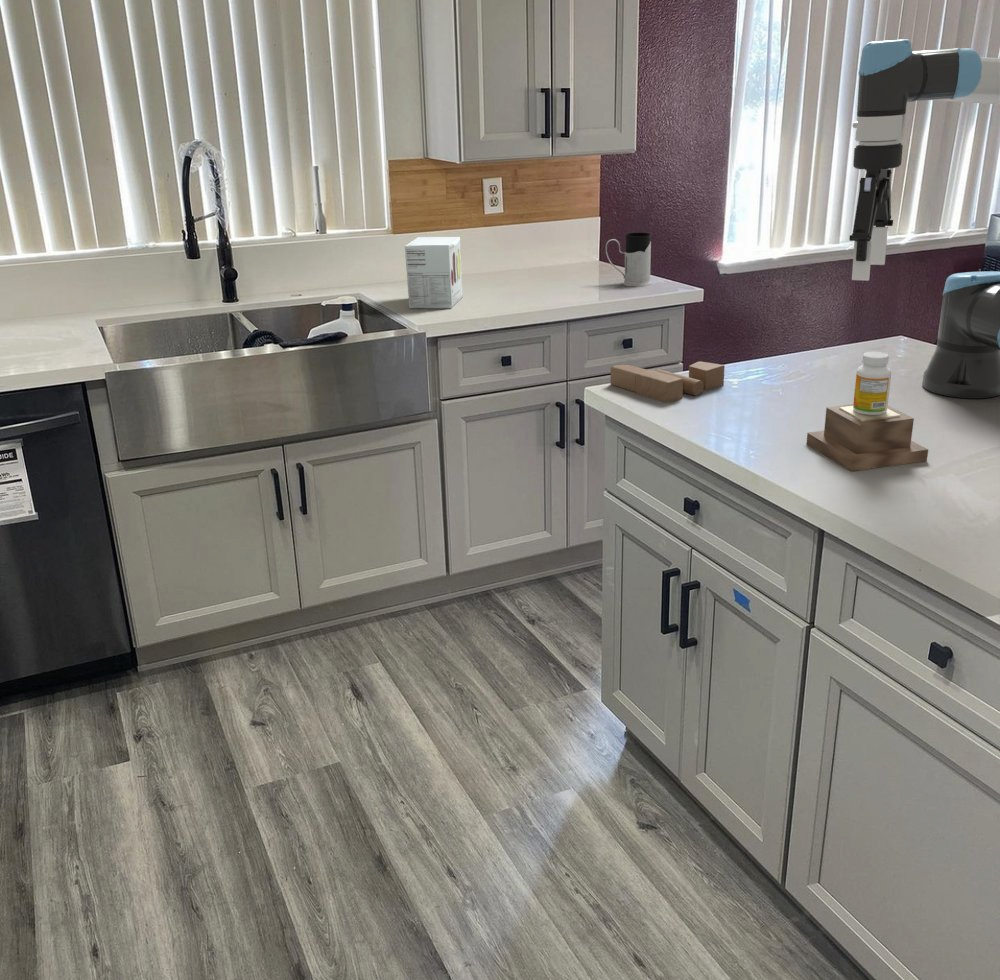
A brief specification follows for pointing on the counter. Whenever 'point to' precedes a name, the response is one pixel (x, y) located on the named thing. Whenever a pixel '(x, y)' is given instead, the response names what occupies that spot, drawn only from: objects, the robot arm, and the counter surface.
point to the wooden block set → (668, 380)
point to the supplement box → (434, 272)
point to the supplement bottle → (872, 384)
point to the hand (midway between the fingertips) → (868, 272)
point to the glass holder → (636, 259)
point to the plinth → (867, 457)
